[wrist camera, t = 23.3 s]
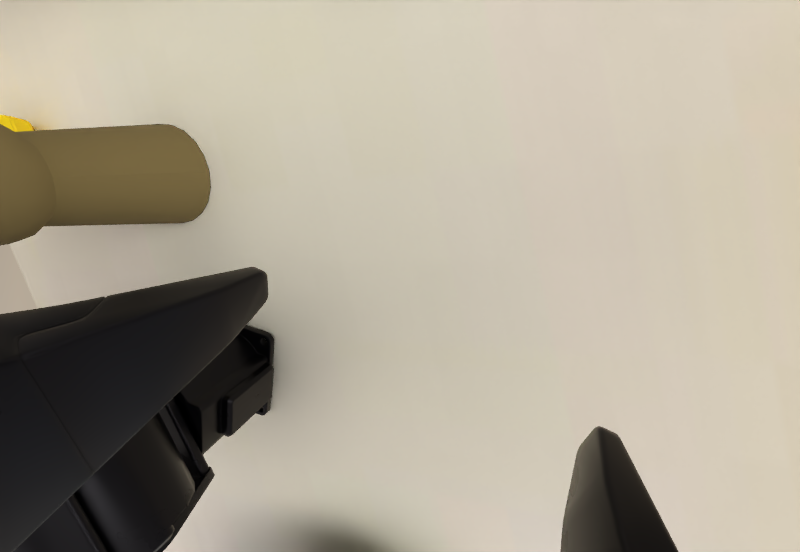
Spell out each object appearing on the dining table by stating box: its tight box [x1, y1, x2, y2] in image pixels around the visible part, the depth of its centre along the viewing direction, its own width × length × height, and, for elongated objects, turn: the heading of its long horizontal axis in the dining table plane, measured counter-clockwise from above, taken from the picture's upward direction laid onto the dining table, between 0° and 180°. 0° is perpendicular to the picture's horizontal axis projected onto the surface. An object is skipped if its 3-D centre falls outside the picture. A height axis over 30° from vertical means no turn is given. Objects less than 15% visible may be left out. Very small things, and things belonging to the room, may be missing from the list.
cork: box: [0, 124, 211, 245], centre depth 19 cm, size 6×6×11 cm
